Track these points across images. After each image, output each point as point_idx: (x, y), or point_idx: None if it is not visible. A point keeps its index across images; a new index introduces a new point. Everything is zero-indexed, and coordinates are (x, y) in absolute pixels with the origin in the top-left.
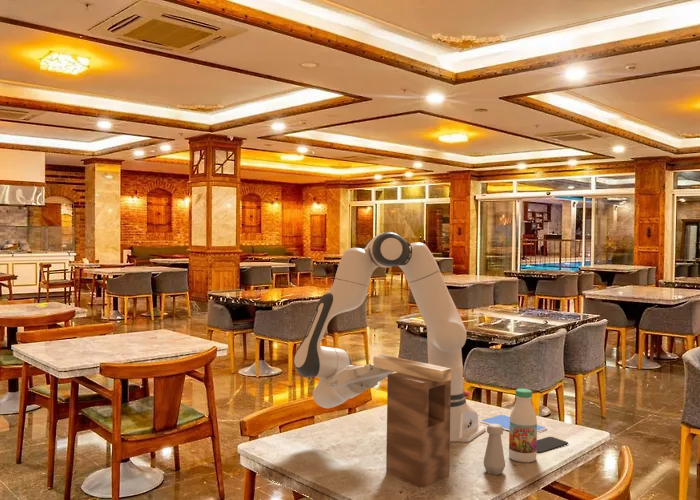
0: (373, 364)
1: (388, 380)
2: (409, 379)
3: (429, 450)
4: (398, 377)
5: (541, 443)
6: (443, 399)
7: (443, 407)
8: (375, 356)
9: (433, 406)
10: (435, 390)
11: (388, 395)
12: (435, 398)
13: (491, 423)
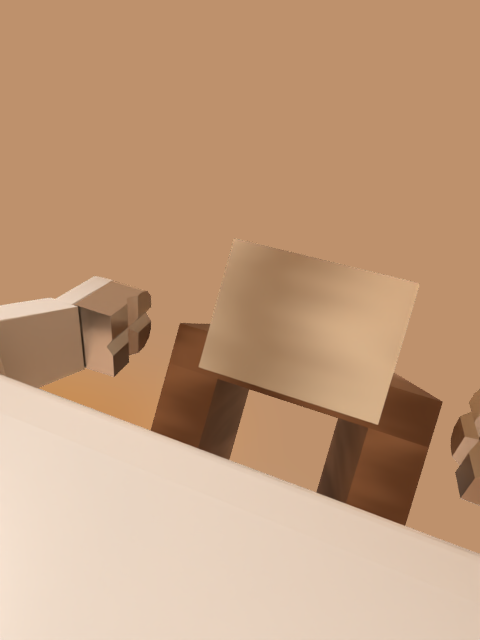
0: (387, 391)
1: (429, 434)
2: (399, 377)
3: None
4: (419, 388)
5: None
6: (242, 409)
7: (235, 435)
8: (397, 281)
9: (223, 455)
10: (241, 392)
11: (401, 522)
12: (234, 421)
13: None
